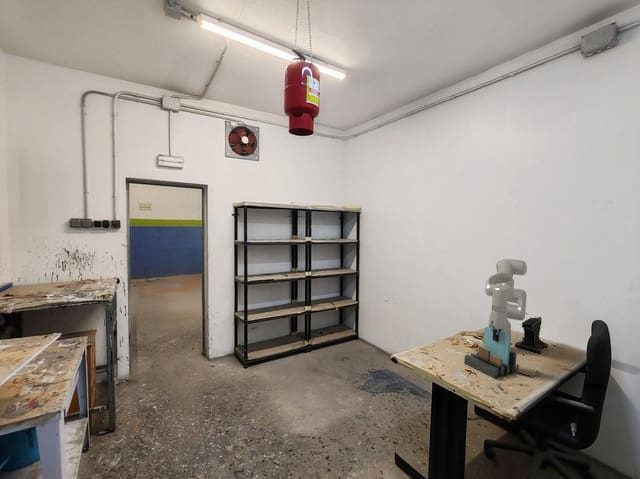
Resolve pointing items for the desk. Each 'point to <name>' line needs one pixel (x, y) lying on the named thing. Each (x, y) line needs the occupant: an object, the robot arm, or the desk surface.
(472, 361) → the offcut rack
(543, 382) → the desk surface
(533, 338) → the anvil
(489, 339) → the tall sheet
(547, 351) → the desk surface
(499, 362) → the oak offcut
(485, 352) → the walnut offcut
